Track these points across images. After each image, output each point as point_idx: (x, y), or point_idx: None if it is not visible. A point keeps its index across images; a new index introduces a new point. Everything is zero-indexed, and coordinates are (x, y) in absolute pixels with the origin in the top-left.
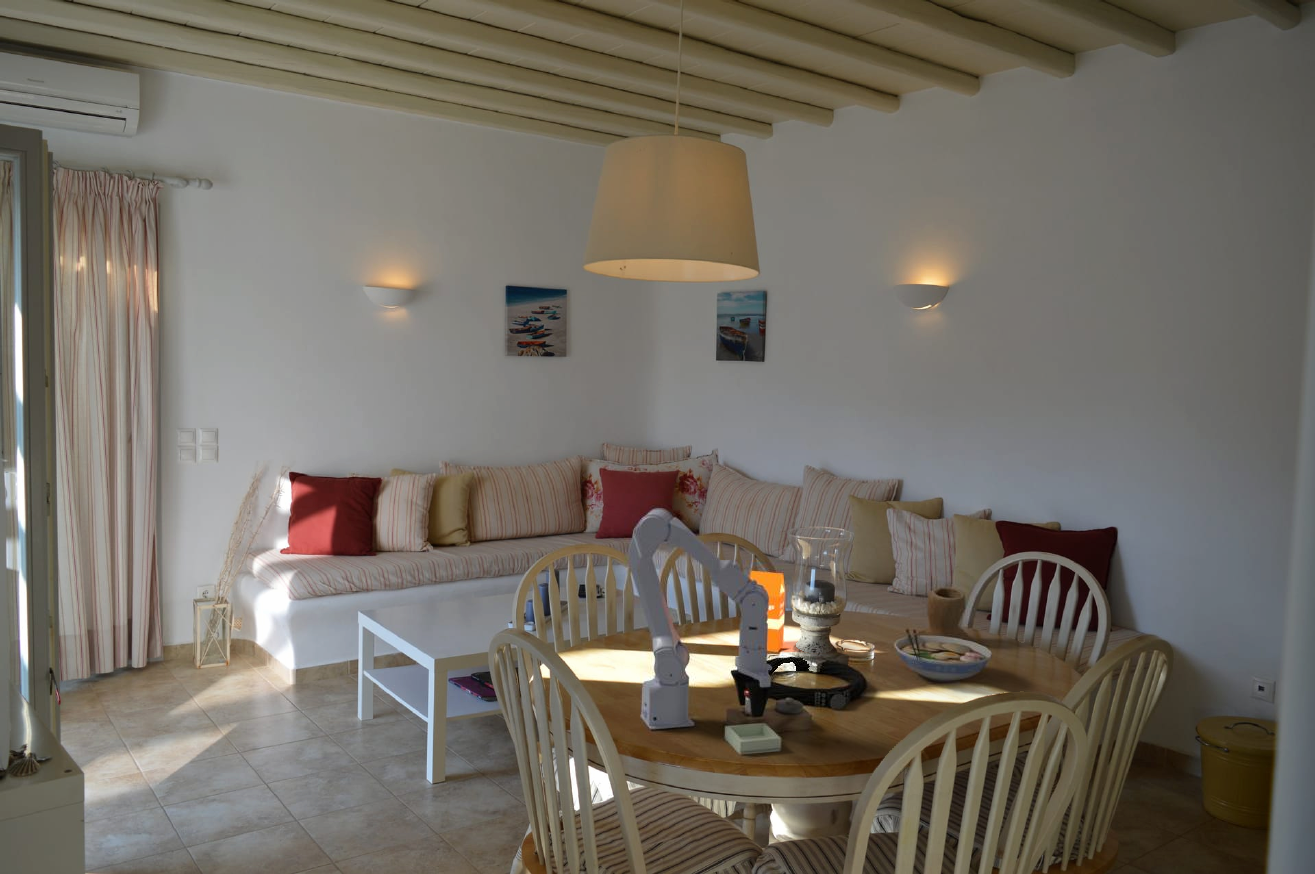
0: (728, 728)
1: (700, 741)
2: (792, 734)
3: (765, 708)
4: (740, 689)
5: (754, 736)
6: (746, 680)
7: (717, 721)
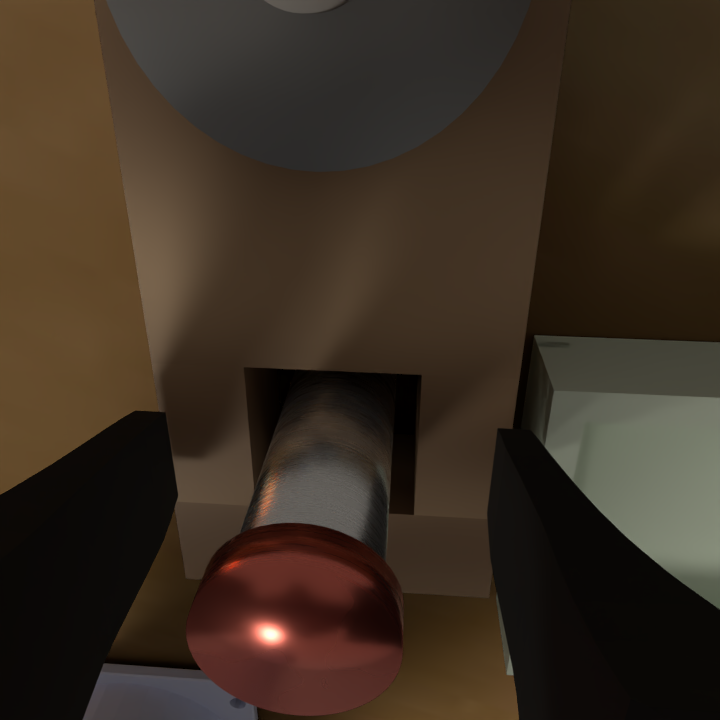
0: None
1: (489, 712)
2: (623, 55)
3: (205, 242)
4: (97, 639)
5: (599, 454)
6: (19, 693)
7: (171, 529)
